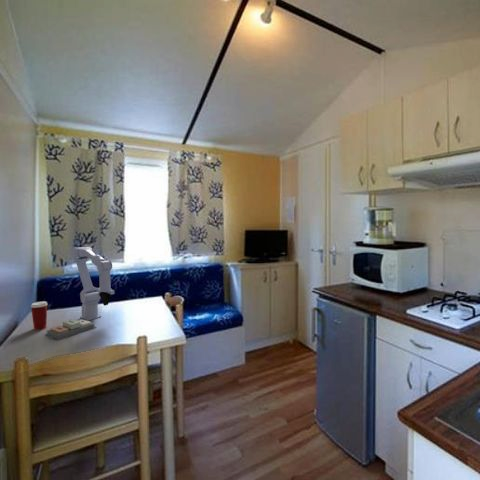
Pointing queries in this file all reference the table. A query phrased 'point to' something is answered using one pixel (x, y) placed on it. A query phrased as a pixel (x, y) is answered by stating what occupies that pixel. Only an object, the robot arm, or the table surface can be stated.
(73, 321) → the key two
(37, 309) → the paper cup
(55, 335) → the keypad board
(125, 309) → the table surface
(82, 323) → the key one
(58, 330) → the key three
